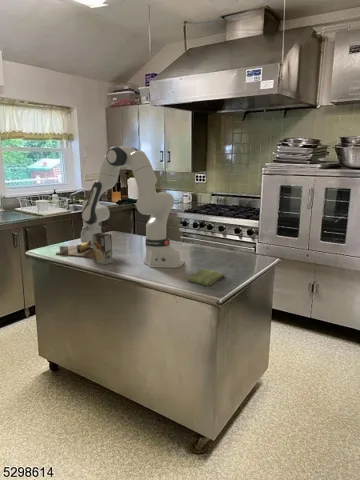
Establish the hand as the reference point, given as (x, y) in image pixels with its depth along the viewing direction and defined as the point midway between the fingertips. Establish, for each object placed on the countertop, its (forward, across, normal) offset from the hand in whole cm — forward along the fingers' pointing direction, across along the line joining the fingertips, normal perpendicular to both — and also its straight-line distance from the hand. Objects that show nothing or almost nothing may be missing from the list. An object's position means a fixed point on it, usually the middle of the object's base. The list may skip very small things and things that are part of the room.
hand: (91, 246), depth 227 cm
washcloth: (+3, -33, -80) cm, 87 cm away
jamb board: (+2, -8, +3) cm, 9 cm away
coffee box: (+2, -22, -19) cm, 30 cm away
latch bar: (+1, -4, +2) cm, 5 cm away
